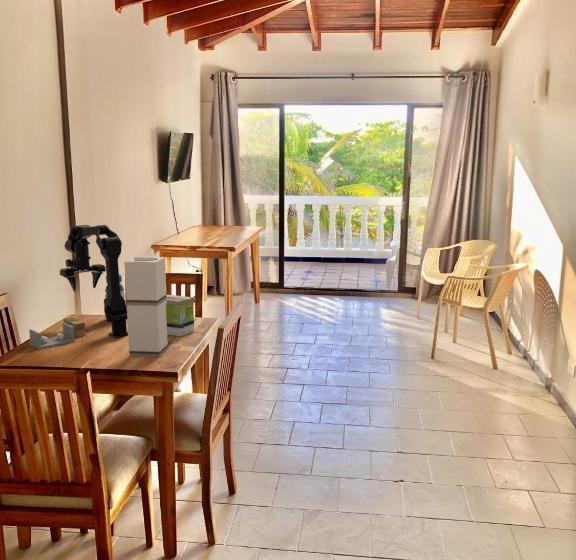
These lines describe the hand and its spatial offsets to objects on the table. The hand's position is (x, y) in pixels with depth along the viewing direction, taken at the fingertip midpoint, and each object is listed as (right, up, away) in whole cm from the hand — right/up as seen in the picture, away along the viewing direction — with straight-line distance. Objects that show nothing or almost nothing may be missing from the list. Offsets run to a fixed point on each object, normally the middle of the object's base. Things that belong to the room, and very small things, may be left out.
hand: (84, 289), depth 274 cm
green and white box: (+41, -18, -13) cm, 46 cm away
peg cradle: (-3, -20, -28) cm, 35 cm away
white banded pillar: (+37, -23, -40) cm, 59 cm away
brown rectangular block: (+1, -18, -14) cm, 23 cm away
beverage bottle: (+12, -13, +8) cm, 20 cm away
